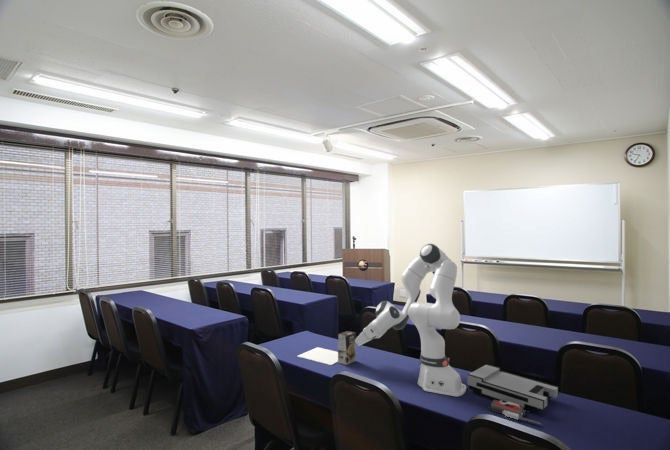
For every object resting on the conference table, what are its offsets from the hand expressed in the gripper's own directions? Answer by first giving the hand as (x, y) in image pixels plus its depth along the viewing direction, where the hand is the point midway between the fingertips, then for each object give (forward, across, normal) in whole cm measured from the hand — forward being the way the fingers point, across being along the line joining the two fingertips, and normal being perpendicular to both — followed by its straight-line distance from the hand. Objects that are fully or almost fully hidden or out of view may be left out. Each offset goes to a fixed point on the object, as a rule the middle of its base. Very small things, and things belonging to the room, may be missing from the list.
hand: (360, 344), depth 205 cm
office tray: (-46, -7, +62) cm, 77 cm away
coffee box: (+13, +2, +2) cm, 14 cm away
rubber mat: (+24, +2, -9) cm, 26 cm away
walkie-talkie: (-49, +11, +65) cm, 82 cm away
